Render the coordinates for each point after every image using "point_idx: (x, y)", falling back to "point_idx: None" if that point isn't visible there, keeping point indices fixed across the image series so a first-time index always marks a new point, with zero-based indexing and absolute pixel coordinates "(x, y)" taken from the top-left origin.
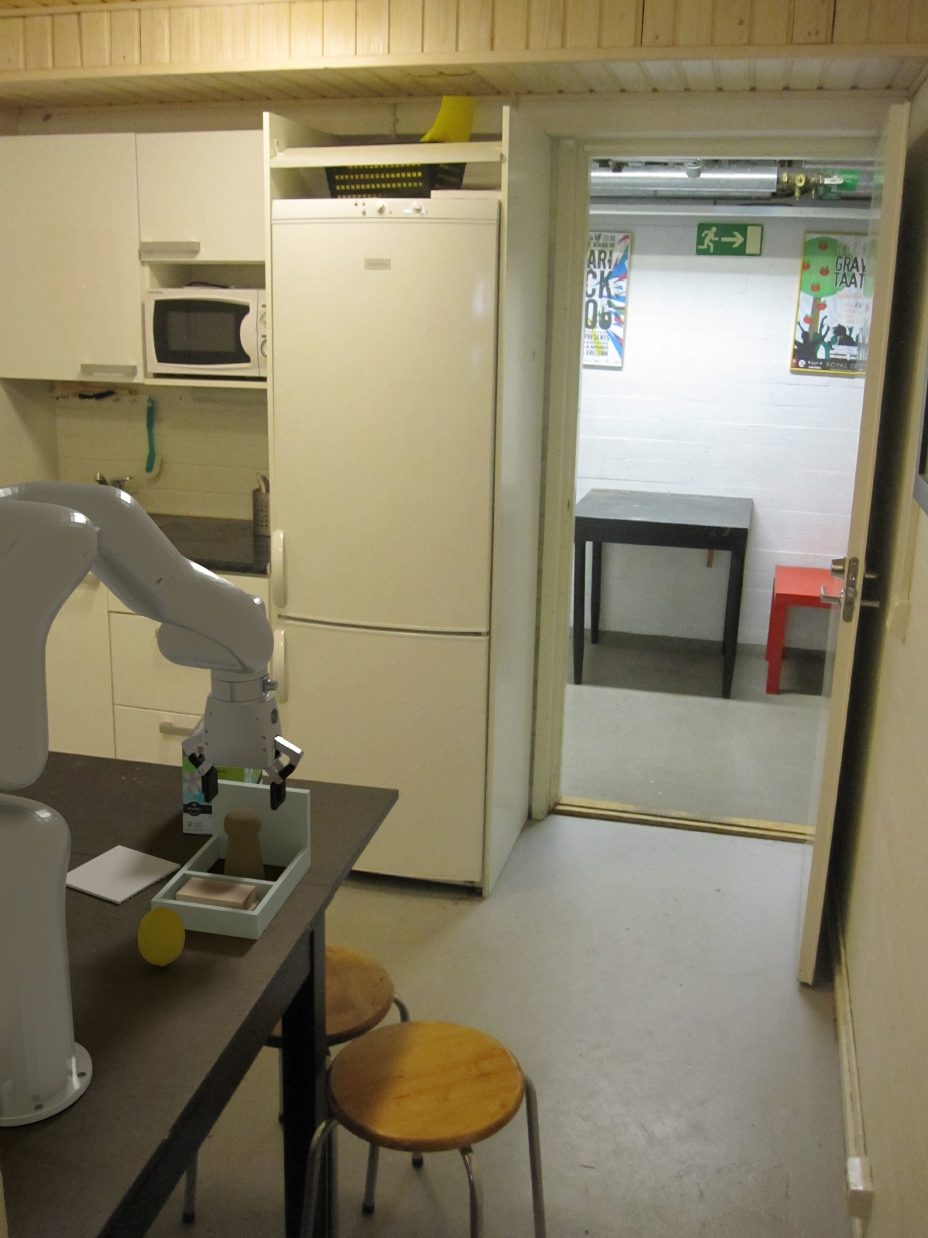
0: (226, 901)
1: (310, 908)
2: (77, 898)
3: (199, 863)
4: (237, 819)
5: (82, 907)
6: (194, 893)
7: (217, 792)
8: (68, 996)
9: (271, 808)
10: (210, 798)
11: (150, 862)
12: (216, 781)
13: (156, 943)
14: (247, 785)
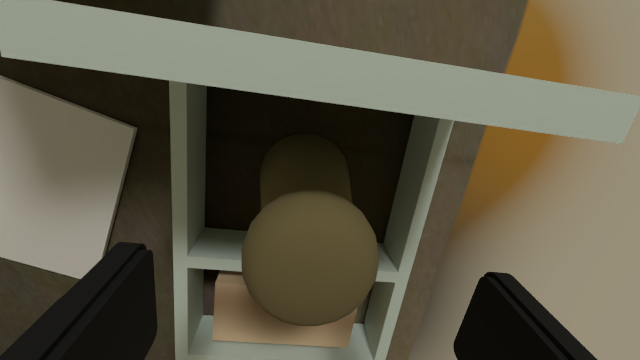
0: (317, 344)
1: (444, 242)
2: (2, 271)
3: (193, 183)
4: (306, 323)
5: (36, 295)
6: (247, 335)
7: (146, 261)
8: None
9: (458, 352)
10: (149, 341)
11: (53, 126)
12: (104, 328)
13: None
14: (271, 81)
